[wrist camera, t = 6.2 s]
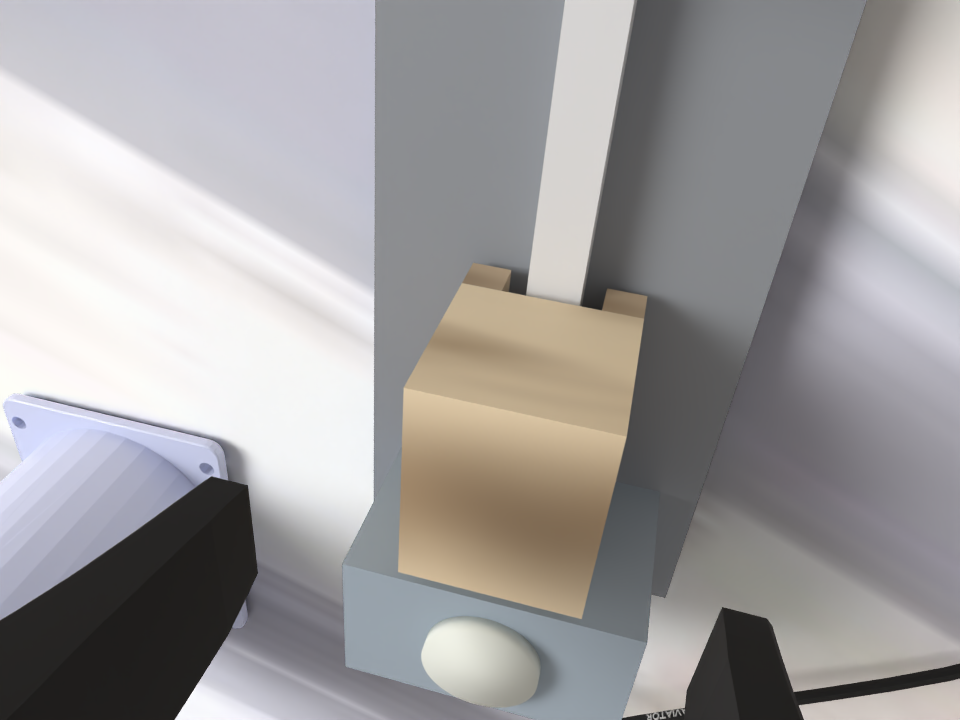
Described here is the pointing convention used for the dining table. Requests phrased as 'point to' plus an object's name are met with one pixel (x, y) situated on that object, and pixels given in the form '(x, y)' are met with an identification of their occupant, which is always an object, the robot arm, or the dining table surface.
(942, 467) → the dining table surface
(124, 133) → the dining table surface
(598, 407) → the carriage
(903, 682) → the glasses
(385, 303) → the rail bench
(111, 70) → the dining table surface
